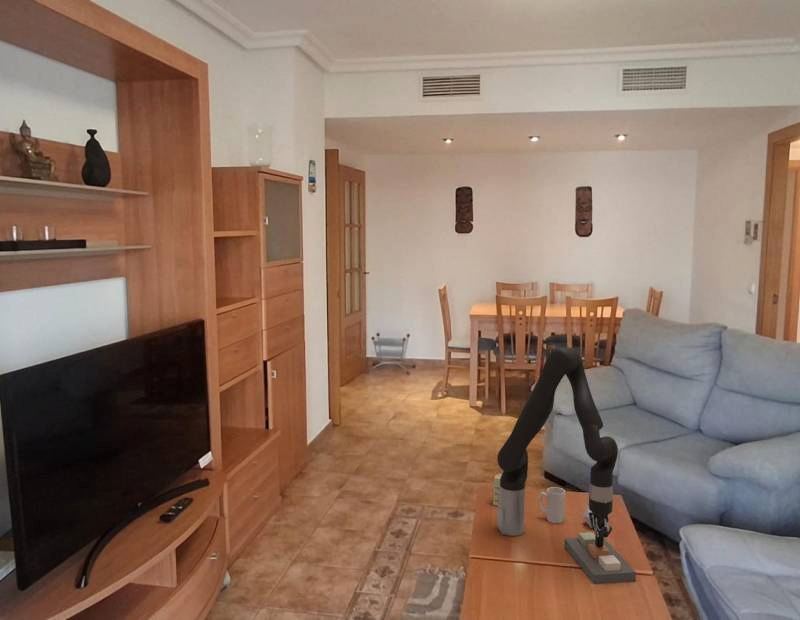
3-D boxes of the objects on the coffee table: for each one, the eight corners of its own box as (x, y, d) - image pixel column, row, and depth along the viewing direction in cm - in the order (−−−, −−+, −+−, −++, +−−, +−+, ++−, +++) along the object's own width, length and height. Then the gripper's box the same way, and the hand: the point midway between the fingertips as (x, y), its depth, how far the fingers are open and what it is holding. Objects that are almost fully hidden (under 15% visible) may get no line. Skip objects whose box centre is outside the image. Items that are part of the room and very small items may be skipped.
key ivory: (605, 575, 194) (605, 563, 194) (598, 567, 199) (598, 555, 198) (620, 574, 195) (620, 562, 194) (612, 566, 200) (613, 555, 199)
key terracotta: (594, 562, 202) (594, 551, 201) (587, 555, 207) (588, 544, 206) (608, 561, 202) (609, 550, 202) (601, 554, 207) (602, 543, 207)
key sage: (584, 550, 210) (584, 539, 209) (578, 543, 215) (578, 533, 214) (598, 550, 210) (598, 539, 210) (591, 543, 215) (592, 532, 215)
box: (521, 504, 251) (522, 477, 249) (517, 510, 245) (518, 482, 244) (496, 500, 255) (497, 473, 254) (492, 505, 250) (493, 477, 249)
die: (607, 535, 226) (616, 509, 229) (586, 523, 226) (595, 498, 229) (595, 533, 234) (604, 508, 237) (575, 521, 234) (585, 497, 237)
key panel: (593, 583, 192) (593, 574, 192) (564, 546, 216) (564, 538, 215) (635, 580, 194) (636, 571, 193) (601, 544, 217) (602, 536, 217)
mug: (563, 516, 239) (564, 487, 238) (565, 524, 233) (566, 494, 232) (537, 515, 241) (537, 485, 240) (538, 522, 234) (538, 492, 233)
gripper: (581, 489, 208) (580, 537, 210) (598, 505, 195) (597, 557, 197) (602, 488, 209) (601, 536, 211) (621, 504, 196) (619, 555, 198)
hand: (599, 546), depth 204 cm, fingers closed
